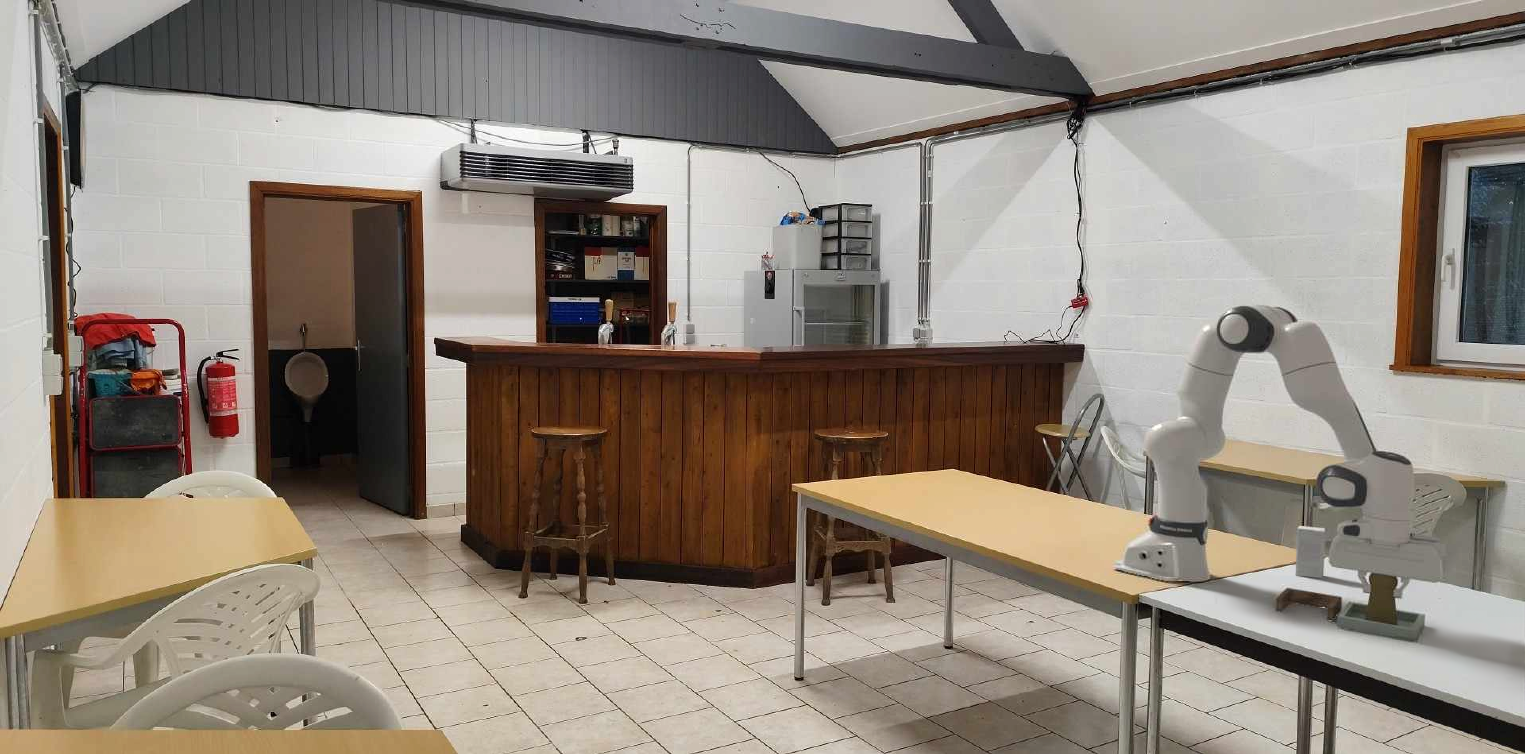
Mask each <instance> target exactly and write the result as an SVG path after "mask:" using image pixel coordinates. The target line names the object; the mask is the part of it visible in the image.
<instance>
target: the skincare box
mask: <svg viewBox="0 0 1525 754" xmlns="http://www.w3.org/2000/svg"><path fill="white" fill-rule="evenodd" d="M1296 529H1297V530H1296V531H1297V535H1296V558H1295V560H1296V561H1295V576H1297V577H1298V576H1299V577H1307V578H1315V579H1323V578H1324V572H1325V571H1324V568H1325V551H1326V550H1325V546H1326V545H1325V543H1326V528H1323V527H1313V526H1305V525H1304V526H1303V525H1299V526H1298V527H1297V528H1296Z"/></svg>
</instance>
